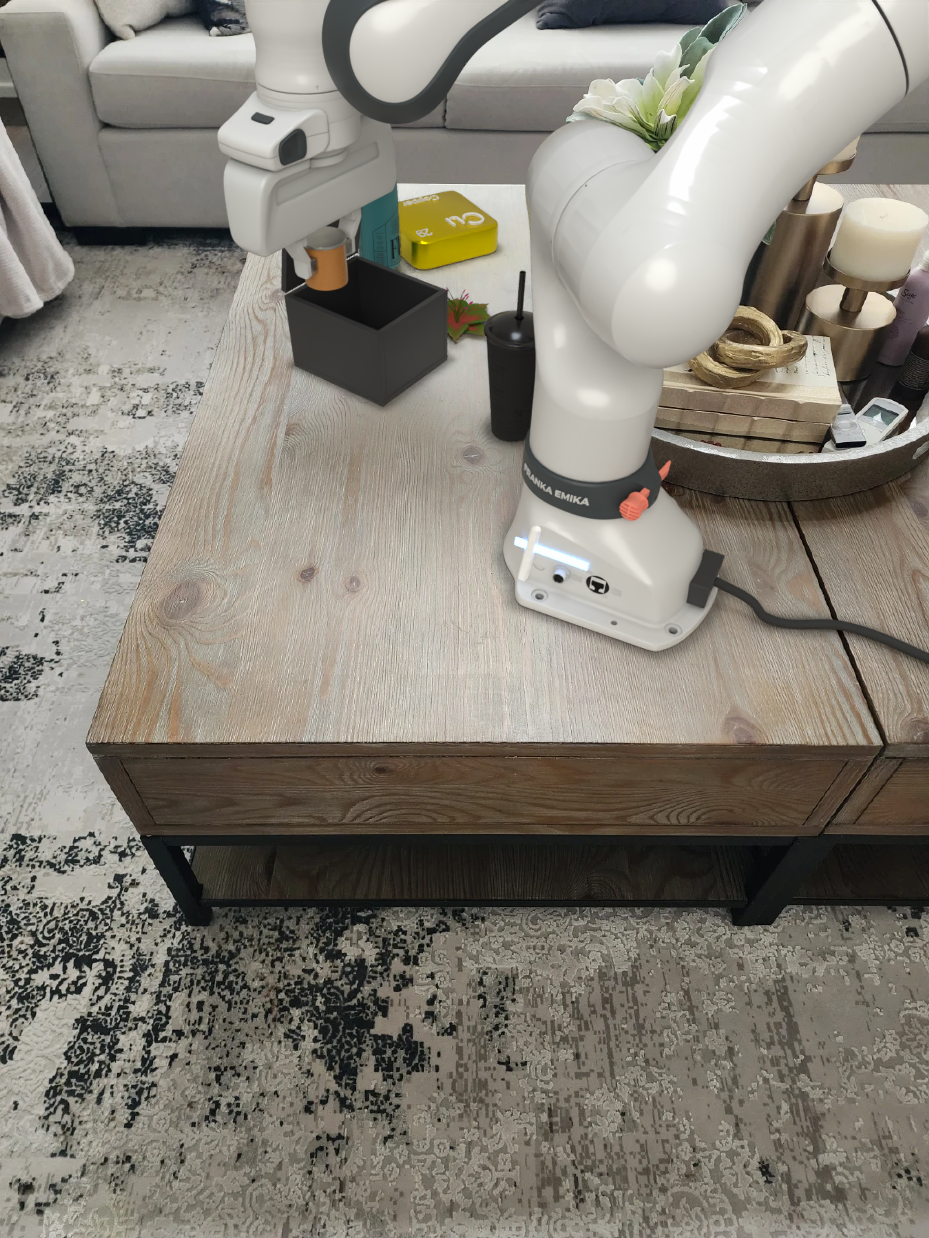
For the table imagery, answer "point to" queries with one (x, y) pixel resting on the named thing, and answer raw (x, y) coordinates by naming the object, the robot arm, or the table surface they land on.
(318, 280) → the coffee pod
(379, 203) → the beverage bottle
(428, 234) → the element tile
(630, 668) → the table surface
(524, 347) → the drinking cup
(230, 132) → the robot arm
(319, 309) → the black tray bin
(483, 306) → the lily flower
